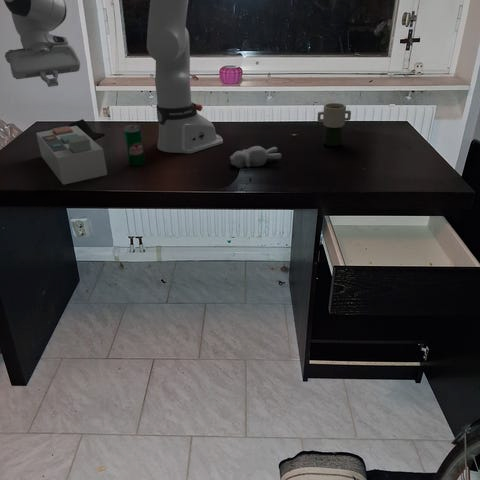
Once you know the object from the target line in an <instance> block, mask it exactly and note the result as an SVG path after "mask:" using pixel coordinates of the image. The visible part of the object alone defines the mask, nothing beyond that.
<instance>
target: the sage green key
mask: <svg viewBox="0 0 480 480" xmlns="http://www.w3.org/2000/svg"><path fill="white" fill-rule="evenodd" d="M67 139H68V144H69V149H70V151H71V152H72V153H73V154H74V153H79V152H84V151H89V150H91V145H90V140H89V139H88V138H87V137H86V136H85V135H82V136H77V137H72V138H67Z"/></svg>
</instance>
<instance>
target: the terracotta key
mask: <svg viewBox="0 0 480 480" xmlns="http://www.w3.org/2000/svg"><path fill="white" fill-rule="evenodd" d="M52 130H53V133H54V134H55V135H56V136H57V135H62V134H67V133H73V131H72V129H71V128H70V127H69V126H67V125H65V127H64V126H61V127H53V128H52Z"/></svg>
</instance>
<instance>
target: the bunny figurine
mask: <svg viewBox="0 0 480 480" xmlns="http://www.w3.org/2000/svg"><path fill="white" fill-rule="evenodd" d="M276 152H277V153H276ZM229 159H230V163H231V166H235V167H236V168H245V166H246V167H247V168H250V167H260V166H264V165H265V164H266V162H267V160H268V159H270V160H273V159H274V160H280V159H282V153H281V152H280V153H279V152H278V147H276V146H272V147H270V148H268V149H266V148H264V147H262V146H260V145H254V146H251V147H249V148H248V149H242V150H236V151H235V152H233V154H232V155H231V156H229Z"/></svg>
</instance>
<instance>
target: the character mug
mask: <svg viewBox="0 0 480 480" xmlns="http://www.w3.org/2000/svg"><path fill="white" fill-rule="evenodd" d="M346 114H347V117H346ZM351 115H352V111H351V110H347V105H346V104H344V103H340V102H339V103H337V102H331V103H330V102H329V103H326V104H323V111H319V112H317V118H316V119H317V122H318V123H323V126H325V129H324V135H323V140H322V142H323V143H322V144H325V145H326V146H331V147H337V146H340V145H342V143H343V141H342V140H343V137H342V127H344V126H345V123H346V121H347V122H348V121H350V120H351ZM321 116H323V117H322V118H321Z"/></svg>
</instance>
